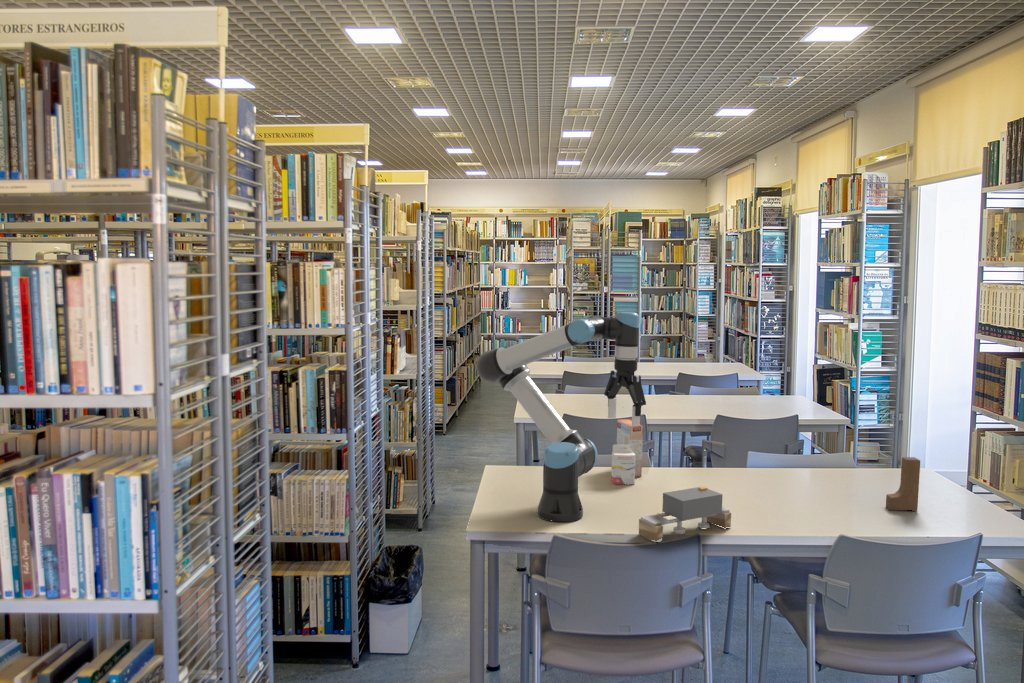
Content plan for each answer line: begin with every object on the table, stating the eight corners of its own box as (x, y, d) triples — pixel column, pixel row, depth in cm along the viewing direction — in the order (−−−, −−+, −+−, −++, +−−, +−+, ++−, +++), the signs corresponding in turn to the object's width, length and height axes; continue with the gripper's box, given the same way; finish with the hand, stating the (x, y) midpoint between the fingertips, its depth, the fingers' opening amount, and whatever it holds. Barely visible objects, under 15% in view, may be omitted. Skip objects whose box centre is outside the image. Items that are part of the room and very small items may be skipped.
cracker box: (642, 477, 298) (643, 425, 296) (628, 478, 297) (629, 425, 295) (629, 468, 311) (630, 418, 310) (615, 468, 310) (616, 419, 308)
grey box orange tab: (681, 538, 229) (683, 499, 228) (661, 529, 237) (663, 491, 236) (721, 530, 236) (722, 492, 235) (700, 521, 245) (701, 484, 244)
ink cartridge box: (612, 485, 287) (613, 447, 285) (610, 481, 292) (611, 444, 290) (635, 485, 287) (636, 447, 286) (632, 481, 292) (633, 444, 290)
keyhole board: (656, 543, 225) (656, 524, 224) (638, 534, 232) (639, 516, 232) (730, 528, 239) (731, 510, 238) (712, 520, 246) (712, 503, 246)
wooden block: (890, 510, 259) (893, 459, 257) (885, 506, 263) (888, 456, 261) (917, 511, 258) (920, 460, 256) (911, 507, 262) (914, 457, 261)
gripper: (658, 363, 240) (655, 428, 242) (613, 353, 262) (611, 413, 264) (639, 363, 236) (636, 430, 239) (595, 354, 258) (593, 415, 261)
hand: (623, 421), depth 251 cm, fingers open, 13 cm apart
